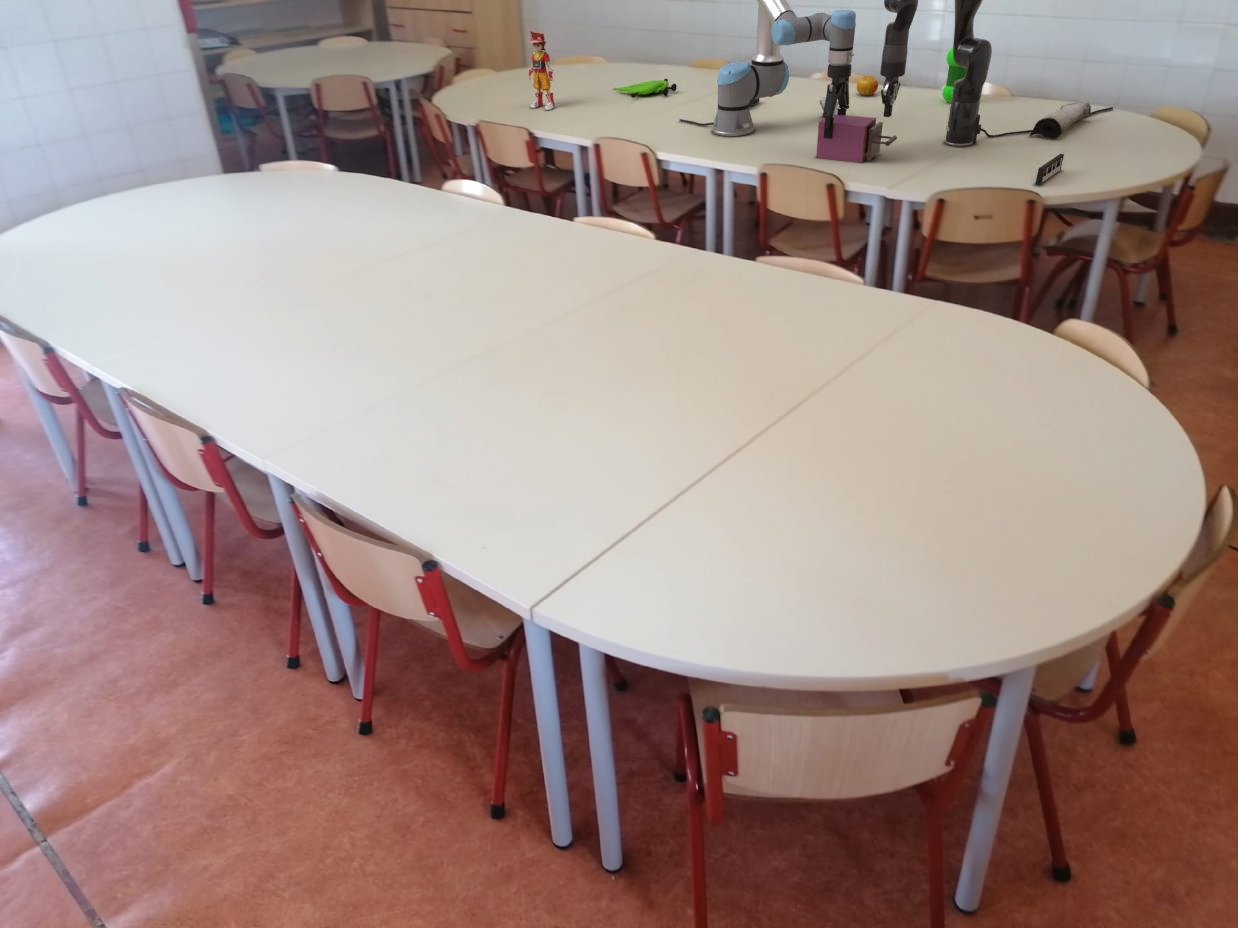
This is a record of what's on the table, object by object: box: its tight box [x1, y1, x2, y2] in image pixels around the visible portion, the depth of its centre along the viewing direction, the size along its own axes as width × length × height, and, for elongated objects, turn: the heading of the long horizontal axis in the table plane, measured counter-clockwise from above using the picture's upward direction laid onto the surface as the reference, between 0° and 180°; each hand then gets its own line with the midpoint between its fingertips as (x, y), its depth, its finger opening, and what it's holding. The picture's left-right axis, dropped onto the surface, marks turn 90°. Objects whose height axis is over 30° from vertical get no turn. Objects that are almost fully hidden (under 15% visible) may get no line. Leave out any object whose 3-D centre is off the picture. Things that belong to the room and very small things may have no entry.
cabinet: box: [815, 114, 877, 164], centre depth 301 cm, size 16×11×12 cm
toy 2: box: [612, 78, 677, 99], centre depth 396 cm, size 28×5×30 cm
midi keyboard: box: [1035, 153, 1065, 186], centre depth 273 cm, size 18×1×5 cm, turn 138°
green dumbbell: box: [942, 46, 967, 104], centre depth 348 cm, size 10×10×25 cm
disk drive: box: [749, 98, 761, 108], centre depth 367 cm, size 10×3×15 cm
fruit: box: [856, 75, 879, 96], centre depth 370 cm, size 8×8×8 cm
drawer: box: [863, 121, 898, 161], centre depth 298 cm, size 20×10×10 cm, turn 58°
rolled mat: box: [1029, 101, 1092, 140], centre depth 316 cm, size 30×9×10 cm
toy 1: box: [527, 31, 556, 111], centre depth 374 cm, size 12×9×30 cm
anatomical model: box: [819, 96, 848, 115], centre depth 341 cm, size 15×10×10 cm
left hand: (834, 133), depth 302 cm, fingers closed on cabinet, 11 cm apart
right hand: (887, 116), depth 291 cm, fingers closed
